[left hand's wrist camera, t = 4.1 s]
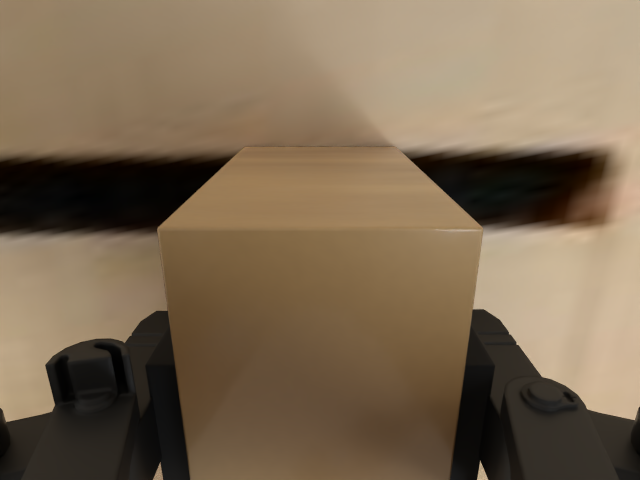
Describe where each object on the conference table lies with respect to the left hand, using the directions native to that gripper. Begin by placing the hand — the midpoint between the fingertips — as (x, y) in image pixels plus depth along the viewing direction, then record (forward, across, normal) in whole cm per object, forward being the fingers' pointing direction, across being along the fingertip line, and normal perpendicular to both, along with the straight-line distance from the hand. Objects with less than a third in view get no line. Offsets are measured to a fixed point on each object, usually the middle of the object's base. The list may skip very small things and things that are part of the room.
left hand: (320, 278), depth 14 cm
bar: (+1, 0, -23) cm, 23 cm away
